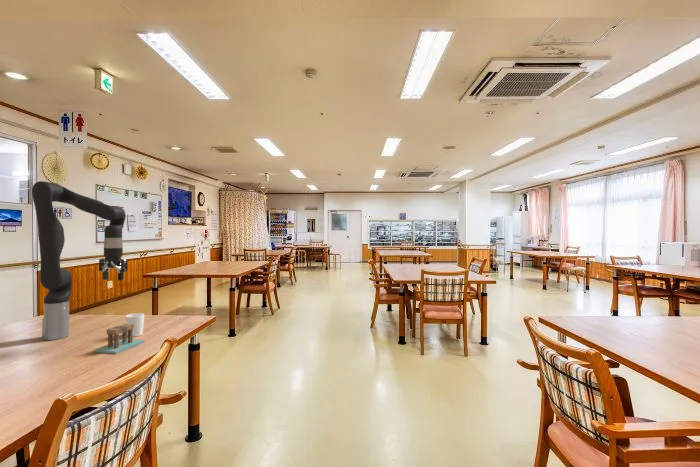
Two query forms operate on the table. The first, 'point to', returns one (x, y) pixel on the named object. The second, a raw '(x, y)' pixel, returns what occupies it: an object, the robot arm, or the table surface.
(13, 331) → the table surface
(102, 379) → the table surface
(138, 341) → the board
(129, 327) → the tan slab with prongs
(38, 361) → the table surface
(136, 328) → the white cup
